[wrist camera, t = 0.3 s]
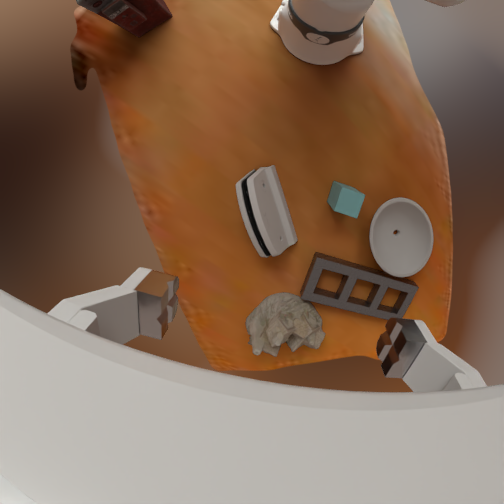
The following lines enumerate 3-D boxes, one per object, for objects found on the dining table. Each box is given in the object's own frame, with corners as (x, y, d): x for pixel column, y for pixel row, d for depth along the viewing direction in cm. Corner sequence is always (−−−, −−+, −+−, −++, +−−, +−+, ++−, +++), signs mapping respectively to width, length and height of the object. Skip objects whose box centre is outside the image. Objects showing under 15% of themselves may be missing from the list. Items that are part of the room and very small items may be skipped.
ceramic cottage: (236, 320, 66) (230, 364, 52) (287, 279, 61) (295, 320, 47) (279, 353, 70) (282, 397, 56) (329, 318, 65) (343, 361, 51)
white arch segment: (298, 241, 57) (282, 264, 49) (277, 244, 59) (259, 267, 51) (273, 163, 52) (252, 173, 44) (252, 169, 54) (228, 180, 46)
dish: (349, 213, 54) (355, 220, 49) (405, 180, 50) (415, 184, 45) (381, 279, 58) (388, 289, 54) (431, 248, 54) (441, 256, 50)
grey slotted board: (315, 251, 57) (317, 257, 55) (413, 281, 58) (418, 287, 55) (300, 291, 61) (301, 298, 58) (395, 315, 61) (399, 322, 59)
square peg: (333, 180, 52) (342, 186, 44) (353, 187, 52) (365, 195, 44) (326, 201, 53) (334, 210, 46) (346, 208, 53) (357, 218, 46)
